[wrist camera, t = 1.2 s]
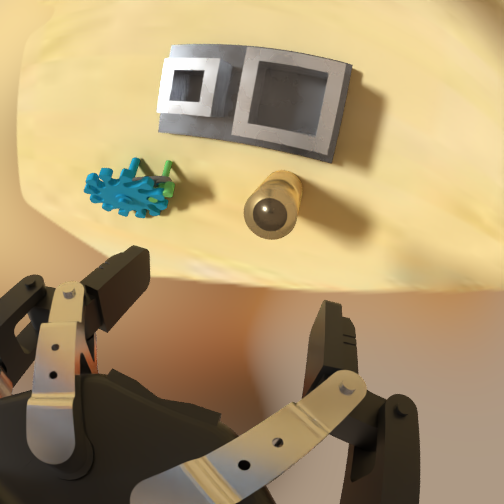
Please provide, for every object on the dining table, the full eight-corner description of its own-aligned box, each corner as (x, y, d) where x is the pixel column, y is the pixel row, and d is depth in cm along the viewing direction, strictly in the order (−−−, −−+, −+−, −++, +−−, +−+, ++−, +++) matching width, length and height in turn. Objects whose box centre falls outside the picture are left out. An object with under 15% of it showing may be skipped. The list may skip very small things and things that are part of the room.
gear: (108, 222, 32) (65, 184, 23) (119, 183, 34) (84, 140, 24) (186, 222, 31) (155, 175, 22) (193, 180, 33) (170, 126, 24)
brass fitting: (267, 166, 26) (248, 183, 19) (306, 175, 26) (302, 196, 19) (260, 203, 28) (239, 232, 21) (297, 212, 28) (289, 245, 21)
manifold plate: (177, 47, 22) (154, 38, 18) (350, 67, 20) (357, 56, 16) (164, 131, 27) (139, 135, 23) (330, 161, 25) (333, 169, 21)
